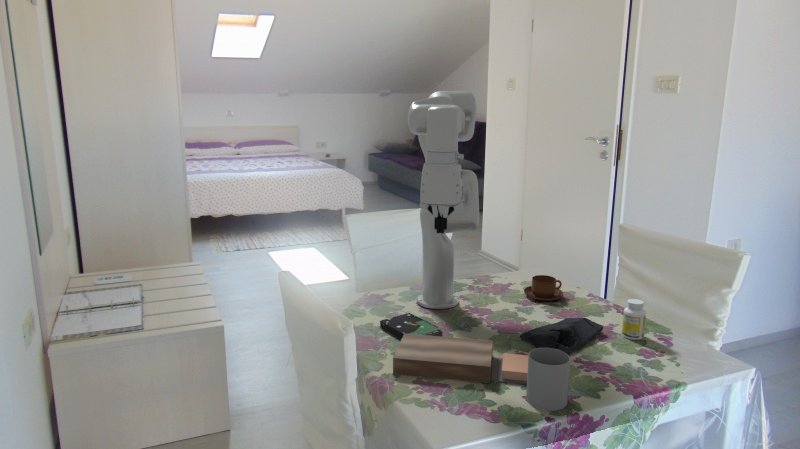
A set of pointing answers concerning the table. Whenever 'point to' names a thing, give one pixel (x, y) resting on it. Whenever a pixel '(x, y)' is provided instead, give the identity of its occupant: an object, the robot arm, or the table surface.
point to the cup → (547, 379)
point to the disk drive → (409, 326)
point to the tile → (515, 367)
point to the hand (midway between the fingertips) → (440, 232)
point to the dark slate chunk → (563, 334)
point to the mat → (497, 373)
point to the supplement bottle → (634, 320)
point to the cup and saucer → (544, 288)
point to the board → (444, 358)
